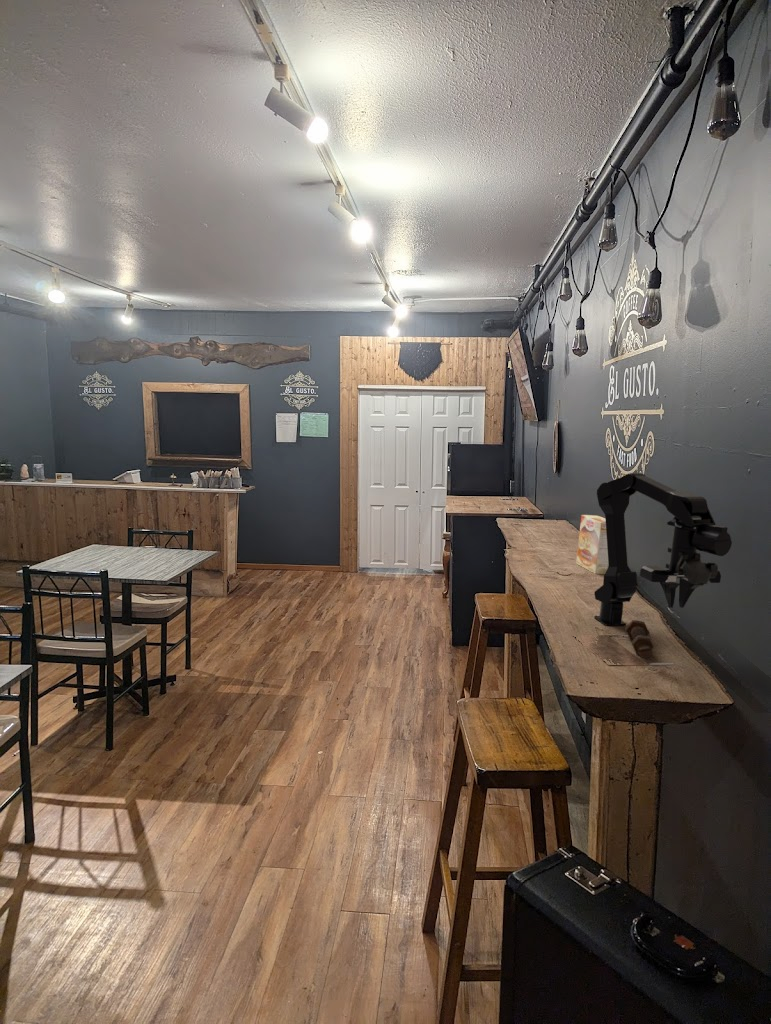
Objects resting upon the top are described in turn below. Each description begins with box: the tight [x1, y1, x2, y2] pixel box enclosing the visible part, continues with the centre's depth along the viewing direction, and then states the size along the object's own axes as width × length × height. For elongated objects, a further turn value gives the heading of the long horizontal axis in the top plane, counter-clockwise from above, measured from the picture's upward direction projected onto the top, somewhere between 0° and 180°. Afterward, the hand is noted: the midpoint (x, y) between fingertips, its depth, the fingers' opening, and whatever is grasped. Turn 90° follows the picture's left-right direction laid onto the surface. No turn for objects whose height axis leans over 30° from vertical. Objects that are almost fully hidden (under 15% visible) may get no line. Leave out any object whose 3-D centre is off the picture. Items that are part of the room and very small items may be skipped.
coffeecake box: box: [575, 514, 609, 575], centre depth 235 cm, size 15×7×20 cm, turn 10°
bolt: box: [625, 620, 654, 659], centre depth 156 cm, size 6×5×15 cm
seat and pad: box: [578, 634, 676, 666], centre depth 155 cm, size 19×17×1 cm
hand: (675, 607), depth 156 cm, fingers open, 3 cm apart
